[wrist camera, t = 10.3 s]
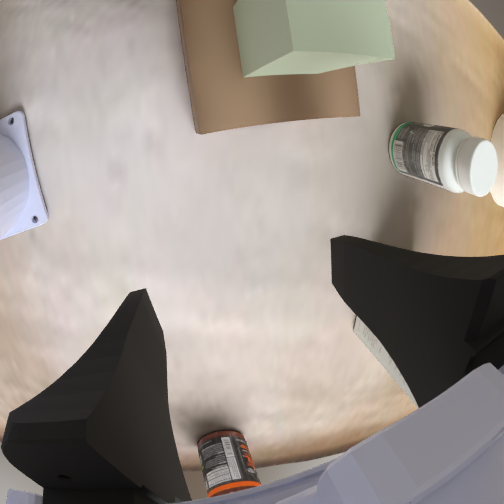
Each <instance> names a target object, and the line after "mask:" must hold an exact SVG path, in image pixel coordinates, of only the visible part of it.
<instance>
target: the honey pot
mask: <svg viewBox="0 0 504 504" xmlns="http://www.w3.org/2000/svg"><path fill="white" fill-rule="evenodd" d="M490 142H491V143H492V144H493V146H494V148H495V150H496V154H497V160H498V168H497V175H496V179H495V182H494V185H493V187H492V189H491V190H490V192H491V194H492V197H493V199H494V201H495V202H496V203H497V204H498V205H500V206H502V207H504V114H502V115H501V116H500V118H499V119H498V120H497V122H496V125H495V127H494V129H493V133H492V137H491V140H490Z"/></svg>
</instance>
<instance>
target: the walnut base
mask: <svg viewBox="0 0 504 504" xmlns="http://www.w3.org/2000/svg"><path fill="white" fill-rule="evenodd" d="M176 2H177V10H178V18H179V25H180V33H181V40H182V47H183V54H184V61H185V67H186V74H187V80H188V87H189V93H190V99H191V106H192V112H193V118H194V124H195V130H196V133H198V134H206V133H212V132H217V131H223V130H229V129H235V128H241V127H248V126H254V125H262V124H269V123H278V122H286V121H296V120H306V119H318V118H333V117H351V116H360V108H359V98H358V89H357V81H356V73H355V66H351V67H346V68H341V69H337V70H332V71H328V72H323V73H319V74H287V75H268V76H254V77H243V73H242V66H241V59H240V52H239V45H238V38H237V31H236V25H235V18H234V11H233V6H234V5H235V3H236V2H237V0H176Z"/></svg>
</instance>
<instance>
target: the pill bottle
mask: <svg viewBox="0 0 504 504" xmlns="http://www.w3.org/2000/svg"><path fill="white" fill-rule="evenodd" d="M389 154H390V159H391V162H392V164H393V166H394V167H395V169H396V170H397V171H398V172H399V173H401V174H403V175H406V176H408V177H411V178H414V179H417V180H420V181H423V182H426V183H429V184H432V185H435V186H437V187H440V188H443V189H446V190H448V191H450V192H454V193H461V192H463V191H466V192H467V193H470V194H473V195H476V196H479V197H482V196H485V195H486V194H488V193H489V191H490V190H491V189H492V187H493V185H494V182H495V179H496V175H497V168H498V160H497V154H496V150H495V148H494V146H493V144H492V143H491V142H490V141H489V140H486V139H483V138H479V137H473V136H471V135H470V134H469V133H468V132H466V131H465V130H462V129H457V128H450V127H444V126H438V125H430V124H422V123H415V122H406V123H403V124H401V125H399V126H398V127H397V128H396V129H395V130H394V132H393V134H392V136H391V139H390V143H389Z"/></svg>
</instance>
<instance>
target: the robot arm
mask: <svg viewBox="0 0 504 504" xmlns="http://www.w3.org/2000/svg"><path fill="white" fill-rule="evenodd" d="M12 118H13V119H14V123H13V124H11V119H12ZM34 216H36V217H37V218H38V221H35V220H34ZM47 220H48V212H47V209H46V206H45V203H44V199H43V196H42V192H41V189H40V185H39V181H38V177H37V174H36V169H35V165H34V161H33V157H32V152H31V147H30V142H29V137H28V132H27V126H26V120H25V115H24V113H23V112H22V111H16V112H14V113H12V114H10V115H8V116H6V117H4V118H2V119H0V240H1V239H4V238H6V237H9V236H12V235H14V234H17V233H20V232H22V231H25V230H28V229H31V228H34V227H36V226H39V225H42V224H44V223H45V222H46V221H47ZM331 264H332V284H333V285H334V287H335V288H336V290H337V292H338V293H339V295H340V296H341V298H342V299H343V300H344V302H345V303H346V304H347V305H348V306H349V307H350V308H351V310H352V311H353V312H354V313H355V314H356V315H357V316H358V317H359V318H360V320H361V321H362V322H363V323H364V324H365V325H366V326H367V327H368V328H369V329H370V331H371V332H372V333H373V334H374V335H375V336H376V337H377V339H378V340H379V341H380V342H381V344H382V345H383V347H384V348H385V350H386V351H387V352H388V354H389V355H390V357H391V358H392V360H393V361H394V363H395V365H396V366H397V368H398V370H399V371H400V373H401V375H402V376H403V378H404V380H405V382H406V383H407V385H408V387H409V389H410V391H411V393H412V395H413V396H414V399H415V401H416V403H417V405H418V407H419V409H417V410H415V411H414V412H412V413H411V414H409V415H407V416H405V417H404V418H402V419H400V420H399V421H397V422H395V423H393V424H391V425H390V426H388V427H386V428H384V429H382V430H380V431H378V432H377V433H375V434H373V435H372V436H370V437H369V438H367V439H365V440H364V441H362V442H360V443H358V444H357V445H355V446H353V447H351V448H350V449H349V450H347V451H346V452H345V453H344V454H342V455H341V456H340V457H338V458H336V459H334V460H331V461H329V462H327V463H324V464H322V465H319V466H317V467H314V468H312V469H309V470H306V471H304V472H301V473H298V474H295V475H292V476H289V477H287V478H283V479H280V480H277V481H274V482H271V483H267V484H264V485H260V486H257V487H253V488H249V489H245V490H241V491H237V492H233V493H229V494H224V495H220V496H215V497H210V498H204V499H199V500H192V499H191V497H190V494H189V491H188V488H187V485H186V482H185V478H184V475H183V471H182V468H181V464H180V460H179V457H178V453H177V448H176V444H175V440H174V435H173V430H172V425H171V420H170V415H169V406H168V389H167V359H166V348H165V341H164V335H163V330H162V328H161V326H160V323H159V321H158V318H157V316H156V313H155V311H154V308H153V306H152V303H151V301H150V298H149V296H148V293H147V290H146V288H145V289H141V290H137V291H133V292H130V293H129V294H128V296H127V297H126V298H125V300H124V301H123V303H122V304H121V306H120V307H119V309H118V310H117V312H116V313H115V314H114V316H113V317H112V319H111V320H110V322H109V323H108V324H107V326H106V327H105V328H104V330H103V331H102V332H101V334H100V335H99V336H98V338H97V339H96V340H95V342H94V343H93V344H92V345H91V346H90V348H89V349H88V350H87V351H86V352H85V353H84V354H83V355H82V356H81V358H80V359H79V360H78V361H77V362H76V363H75V364H74V365H73V366H72V367H71V368H69V369H68V370H67V371H66V372H65V373H64V374H63V375H62V376H61V377H60V378H59V379H58V380H56V381H55V382H54V383H53V384H51V385H50V386H49V387H48V388H46V389H45V390H44V391H42V392H41V393H40V394H38V395H37V396H35V397H34V398H33V399H31V400H29V401H28V402H26V403H25V404H23V405H21V406H20V407H18V408H17V409H15V410H13V411H11V412H10V413H9V417H8V420H7V424H6V428H5V432H4V436H3V441H2V445H1V449H2V452H3V454H4V456H5V457H6V458H7V460H8V461H9V462H10V463H11V464H12V465H13V466H14V467H16V468H17V469H18V470H19V471H21V472H22V473H23V474H25V475H26V476H27V477H29V478H30V479H32V480H33V481H34V482H36V483H37V484H39V485H40V486H42V487H43V488H44V490H43V496H41V495H38V494H36V493H31V492H25V491H19V490H13V489H9V490H8V492H7V502H6V504H504V255H497V256H488V257H455V256H442V255H434V254H427V253H420V252H415V251H410V250H406V249H401V248H397V247H393V246H389V245H385V244H381V243H377V242H374V241H370V240H366V239H362V238H358V237H353V236H346V235H343V236H339V237H336V238H332V239H331Z"/></svg>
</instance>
